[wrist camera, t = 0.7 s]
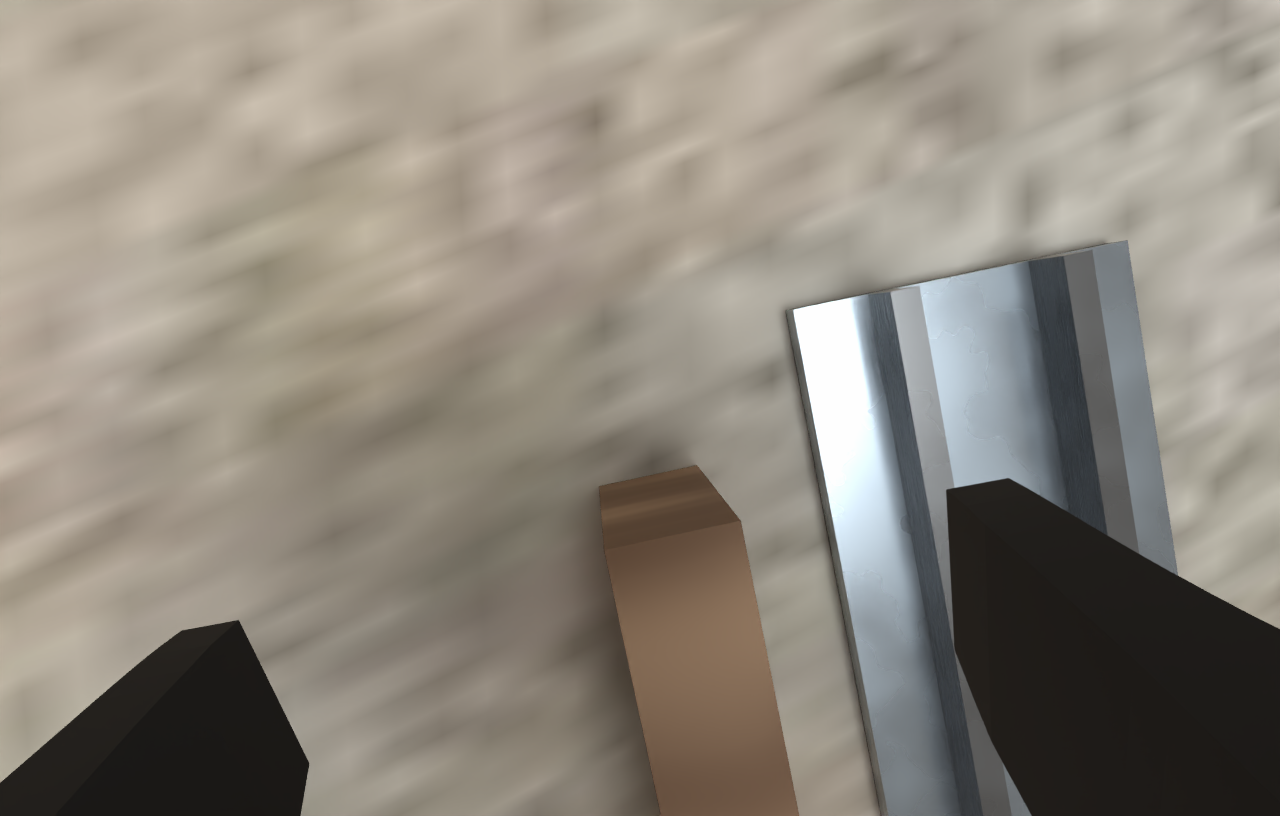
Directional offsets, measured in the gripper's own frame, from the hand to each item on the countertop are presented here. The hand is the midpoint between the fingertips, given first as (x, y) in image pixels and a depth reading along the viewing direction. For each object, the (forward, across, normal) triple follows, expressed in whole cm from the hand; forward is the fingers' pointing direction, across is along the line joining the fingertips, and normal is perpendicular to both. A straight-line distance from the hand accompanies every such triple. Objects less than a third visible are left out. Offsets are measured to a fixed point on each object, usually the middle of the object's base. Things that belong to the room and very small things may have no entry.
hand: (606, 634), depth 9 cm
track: (+15, -10, +14) cm, 23 cm away
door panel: (+15, 0, +14) cm, 20 cm away
